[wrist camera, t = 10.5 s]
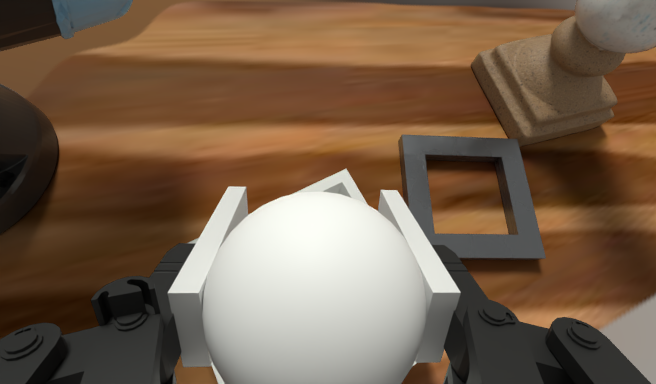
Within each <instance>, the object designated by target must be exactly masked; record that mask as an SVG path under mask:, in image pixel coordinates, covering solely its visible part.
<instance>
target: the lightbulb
mask: <svg viewBox="0 0 656 384" xmlns="http://www.w3.org/2000/svg"><path fill="white" fill-rule="evenodd" d="M202 319H203V327H204V335H205V341H206V344H207V347H208V350H209V353H210V356H211V359H212V362H213V364H214V366H215V368H216V369H217V371H218V373H219V374H220V376H221V378H222V379H223V381H224V383H225V384H401V383H402V382H403V380H404V379H405V377H406V376H407V374H408V373H409V371H410V369H411V368H412V366H413V364H414V361H415V359H416V356H417V354H418V351H419V349H420V346H421V343H422V338H423V332H424V327H425V322H426V295H425V289H424V283H423V277H422V274H421V271H420V269H419V266H418V263H417V260H416V258H415V255H414V254H413V252H412V250H411V248H410V247H409V245H408V243H407V241H406V240H405V238H404V237H403V236H402V234H401V233H400V232H399V231H398V230H397V229H396V227H395V226H394V225H393V224H392V223H391V222H390V221H389V220H388V219H387V218H385V217H384V216H383V215H382V214H380V213H379V212H378V211H377V210H375V209H374V208H372V207H370V206H368V205H366V204H365V203H363V202H361V201H359V200H356V199H353V198H350V197H347V196H344V195H342V194H336V193H329V192H322V191H320V192H301V193H297V194H292V195H288V196H284V197H281V198H278V199H276V200H274V201H272V202H269V203H267V204H265V205H263V206H261V207H260V208H258V209H257V210H255V211H254V212H252V213H251V214H249V215H248V216H247V217H245V218H244V219H243V220H242V221H241V222H240V223H239V224H238V225H237V226H236V227H235V228H234V229H233V230H232V231H231V233H230V234H229V235H228V237H227V238H226V240H225V241H224V243H223V244H222V245H221V247H220V248H219V250H218V252H217V254H216V256H215V258H214V261H213V263H212V265H211V267H210V269H209V273H208V277H207V281H206V285H205V289H204V293H203V309H202Z"/></svg>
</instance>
